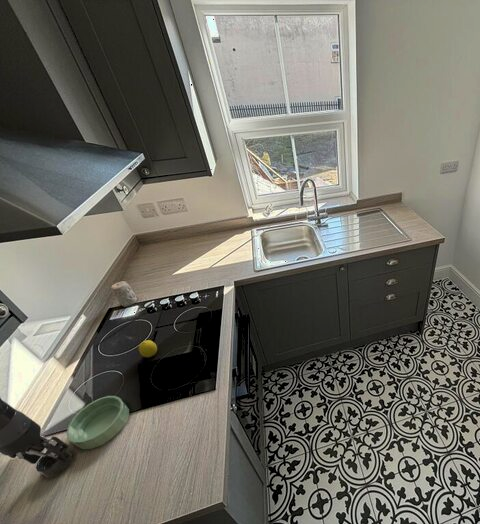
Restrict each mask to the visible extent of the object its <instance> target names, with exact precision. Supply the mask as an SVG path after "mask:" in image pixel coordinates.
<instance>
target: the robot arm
mask: <svg viewBox="0 0 480 524" xmlns="http://www.w3.org/2000/svg"><path fill="white" fill-rule="evenodd" d="M41 431H42V428H41V425H40V424H38V423H37V422H35V420H33V419H31V417H29V416H28V415H26V414H25V413H24V412H22V411H20V410H18V409H16V408H14V407H13V406H12V405H10V404H9V403H8V402H6V401H5V400H3V398H1V397H0V454H2V455H4V456H6V457H7V456H8V457H9V458H11V459H16V457H17V458H18V459H19V460H25V461H26V462H27V463H29V464H31V465H35V464H37V463H38V461H39V460H40V458H41V457H45V456H50V457H53V458H55V459H56V461H59V462H61V463H65V462H66V461H67V460H68V458H69V457H70V454H69V453H70V452H69V451H68V449H69V448H70V445H69V444H68V443H66V442H65V441H63V440H62V439H60V438H58V437H57V436H55V435H53V436H51V438H50V439H49V438H47V437H46V436H43V435H41ZM44 450H45V451H44ZM66 450H67V451H68V452H69V453H68V452H67V451H66ZM43 451H44V452H43ZM50 451H51V452H52V453H51V452H50Z"/></svg>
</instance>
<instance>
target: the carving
mask: <svg viewBox="0 0 480 524" xmlns="http://www.w3.org/2000/svg"><path fill="white" fill-rule="evenodd" d="M110 289H111V291H112V293H113V294H114V296H115V298H116V300H117V302H118V303H119V304H120V305H121V306H122V307H124V308H126V307H130V306H132V305H134V304H135V303H136V302H137V296H136V294H135V293H134V291H133V289H132V287H131V286H130V284H129V283H128V282H127V281H125V280H123V281H122V280H121V281H118V282H116V283H114V284H112V285H111V287H110Z"/></svg>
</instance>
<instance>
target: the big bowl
mask: <svg viewBox="0 0 480 524" xmlns="http://www.w3.org/2000/svg"><path fill="white" fill-rule="evenodd" d="M129 417H130V408H129V407H128V405H127V404H126V403H125V402H124V400H123V399H122V398H120V397H118V396H116V395H106V396H104V397H99V398H97V399H96V400H93V401H91V402H90V403H88V404H87V405H85V406H84V407H83V408H81V409H80V410H79V411H78V412H77V414H75V415H74V416H73V418H72V420H71V421H70V423H69V424H68V426H67V430H66V437H67V439H68V441H69V442H71V443H72V444H73V445H74V446H76V447H77V448H79V449H81V450H92V449H96V448H98V447H100V446H103V445H104V444H106V443H108V442H109V441H111V440H112V439H113V438H115V436H117V435H118V434H119V433H120V432H121V431H122V429H123V428H124V427H125V426H126V424H127V422H128V420H129Z"/></svg>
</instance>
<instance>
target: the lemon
mask: <svg viewBox="0 0 480 524" xmlns="http://www.w3.org/2000/svg"><path fill="white" fill-rule="evenodd" d="M138 351H139V354H140V355H141V356H142V357H144V358H151V357H153V356H155V355H156V354H157V352H158V346H157V344H156V343H155V342H154V341H153V340H150V339H148V340H144V341H142V342H140V344H139V345H138Z"/></svg>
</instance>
